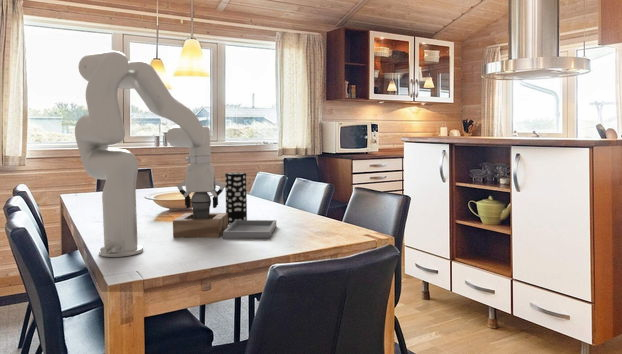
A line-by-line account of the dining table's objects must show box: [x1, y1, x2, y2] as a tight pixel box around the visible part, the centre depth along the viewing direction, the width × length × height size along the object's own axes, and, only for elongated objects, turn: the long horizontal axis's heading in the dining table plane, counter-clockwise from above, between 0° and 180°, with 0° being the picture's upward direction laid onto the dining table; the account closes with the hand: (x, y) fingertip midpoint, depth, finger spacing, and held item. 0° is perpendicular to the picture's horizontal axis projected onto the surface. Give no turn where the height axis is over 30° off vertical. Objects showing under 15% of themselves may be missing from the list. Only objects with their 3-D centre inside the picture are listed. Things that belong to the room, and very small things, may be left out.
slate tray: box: [222, 219, 277, 240], centre depth 181 cm, size 22×16×2 cm
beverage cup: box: [190, 192, 212, 219], centre depth 180 cm, size 7×7×20 cm
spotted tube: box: [224, 172, 248, 226], centre depth 200 cm, size 8×8×20 cm
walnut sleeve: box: [172, 212, 229, 239], centre depth 181 cm, size 16×16×6 cm
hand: (201, 207), depth 180 cm, fingers open, 9 cm apart
